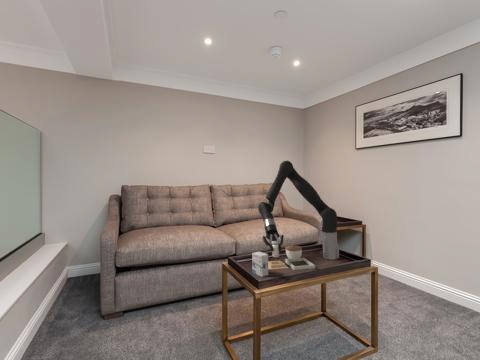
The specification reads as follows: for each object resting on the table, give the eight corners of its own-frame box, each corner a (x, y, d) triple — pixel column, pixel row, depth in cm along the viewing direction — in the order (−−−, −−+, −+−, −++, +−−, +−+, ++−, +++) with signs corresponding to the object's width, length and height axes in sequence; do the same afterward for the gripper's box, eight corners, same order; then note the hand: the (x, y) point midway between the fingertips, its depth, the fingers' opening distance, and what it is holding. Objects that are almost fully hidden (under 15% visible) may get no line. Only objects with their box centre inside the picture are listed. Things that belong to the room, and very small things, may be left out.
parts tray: (304, 261, 159) (304, 257, 159) (315, 269, 142) (315, 265, 142) (285, 262, 157) (284, 258, 157) (294, 271, 141) (293, 266, 141)
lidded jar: (283, 257, 169) (282, 244, 169) (297, 256, 171) (297, 242, 172) (290, 262, 158) (289, 247, 159) (305, 260, 161) (304, 245, 161)
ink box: (252, 274, 138) (251, 252, 139) (259, 272, 141) (258, 251, 142) (262, 278, 131) (261, 255, 132) (269, 276, 134) (268, 254, 135)
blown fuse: (278, 255, 152) (277, 240, 153) (279, 257, 148) (279, 242, 149) (271, 255, 152) (271, 241, 152) (273, 257, 148) (272, 242, 148)
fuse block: (282, 263, 157) (282, 259, 157) (288, 269, 145) (288, 265, 145) (264, 264, 155) (263, 260, 155) (268, 270, 143) (268, 266, 143)
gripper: (260, 224, 157) (265, 248, 145) (282, 223, 159) (289, 246, 147) (259, 231, 162) (263, 254, 150) (280, 230, 164) (286, 253, 152)
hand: (276, 250), depth 148 cm, fingers closed on blown fuse, 4 cm apart
